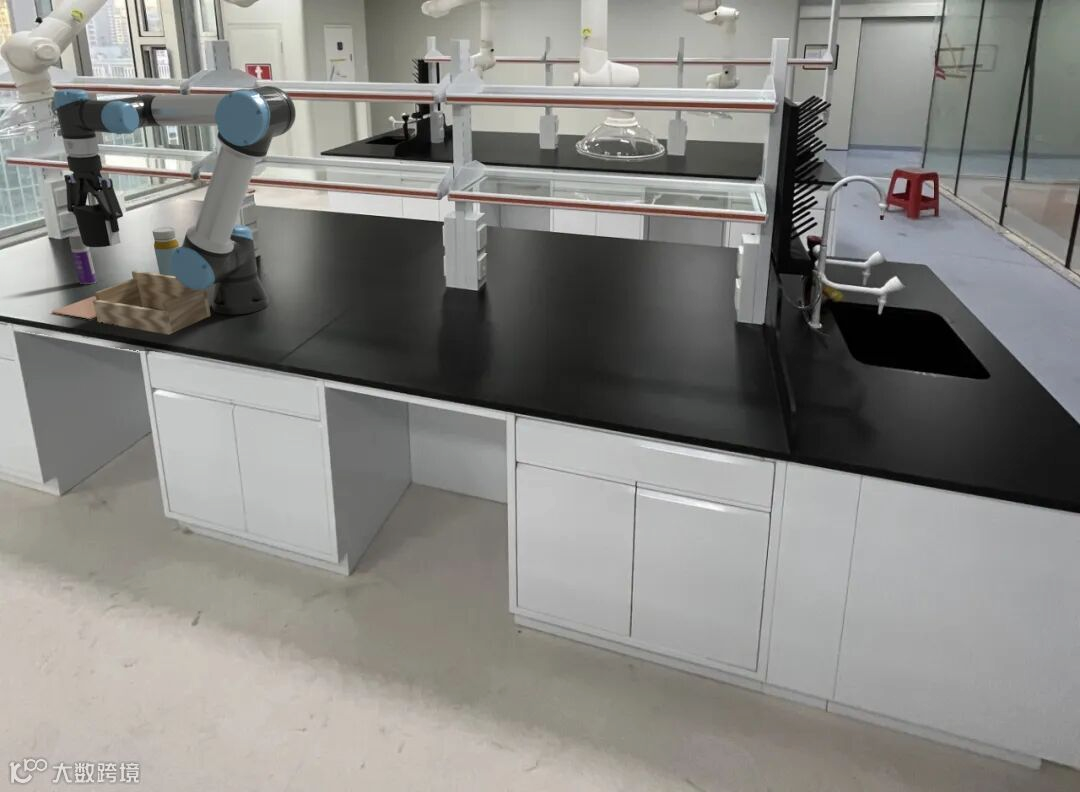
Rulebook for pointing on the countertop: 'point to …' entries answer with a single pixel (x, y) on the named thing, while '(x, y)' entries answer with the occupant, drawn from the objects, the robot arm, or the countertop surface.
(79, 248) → the container
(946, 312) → the countertop surface
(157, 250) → the bottle
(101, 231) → the pen holder
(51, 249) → the countertop surface
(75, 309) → the terracotta tile
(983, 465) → the countertop surface
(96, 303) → the open wooden box
